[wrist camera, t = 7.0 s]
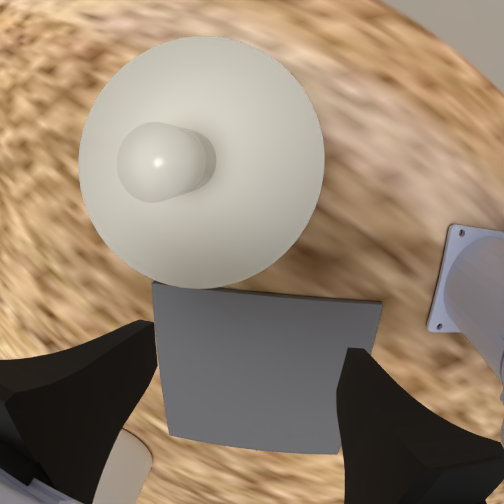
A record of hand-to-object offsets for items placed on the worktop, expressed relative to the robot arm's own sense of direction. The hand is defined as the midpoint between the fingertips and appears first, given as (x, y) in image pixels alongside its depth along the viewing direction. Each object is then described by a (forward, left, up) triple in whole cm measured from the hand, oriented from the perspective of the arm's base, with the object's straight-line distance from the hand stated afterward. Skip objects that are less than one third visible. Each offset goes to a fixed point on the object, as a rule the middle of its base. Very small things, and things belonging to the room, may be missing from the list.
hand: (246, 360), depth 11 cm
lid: (+4, -7, -6) cm, 10 cm away
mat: (0, +10, -10) cm, 14 cm away
